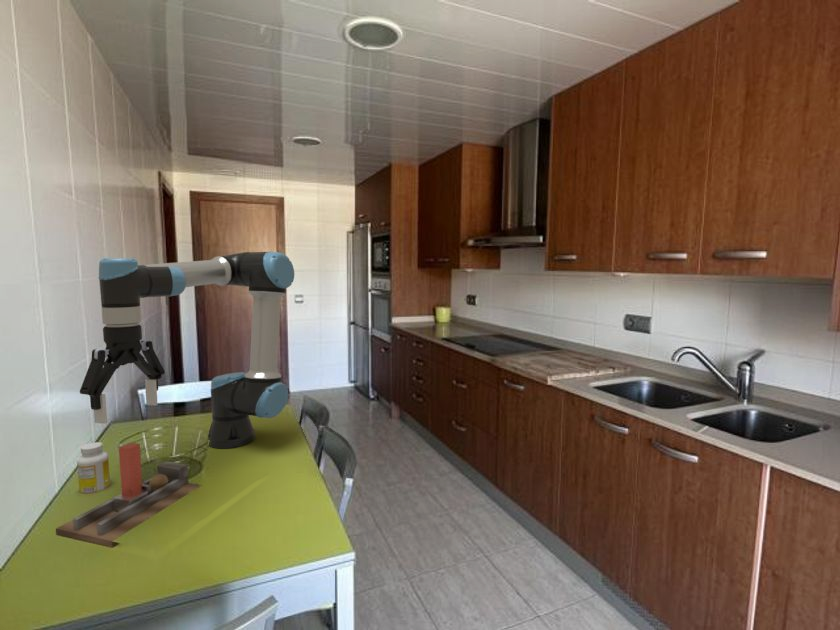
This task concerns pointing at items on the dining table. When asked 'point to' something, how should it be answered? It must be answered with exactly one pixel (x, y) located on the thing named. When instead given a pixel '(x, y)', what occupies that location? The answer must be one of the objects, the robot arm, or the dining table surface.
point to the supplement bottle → (93, 468)
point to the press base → (128, 510)
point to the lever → (130, 477)
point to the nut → (158, 482)
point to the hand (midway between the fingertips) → (128, 413)
